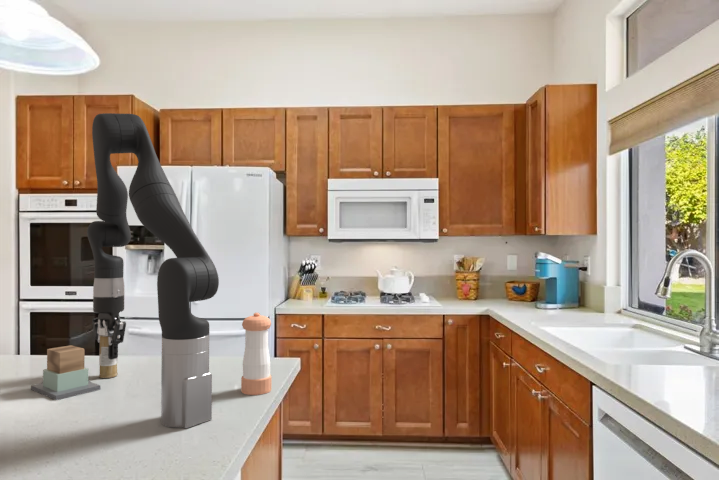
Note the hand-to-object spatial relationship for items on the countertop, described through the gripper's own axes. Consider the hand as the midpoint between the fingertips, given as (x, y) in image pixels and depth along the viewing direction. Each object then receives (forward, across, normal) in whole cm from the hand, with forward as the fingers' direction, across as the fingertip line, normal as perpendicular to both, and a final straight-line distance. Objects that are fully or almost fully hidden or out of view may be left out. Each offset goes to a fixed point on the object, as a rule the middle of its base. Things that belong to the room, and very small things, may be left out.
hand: (108, 357), depth 130 cm
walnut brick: (0, +3, -12) cm, 12 cm away
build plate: (+5, +3, -12) cm, 13 cm away
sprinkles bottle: (+5, 0, 0) cm, 5 cm away
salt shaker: (+6, +42, +15) cm, 45 cm away
